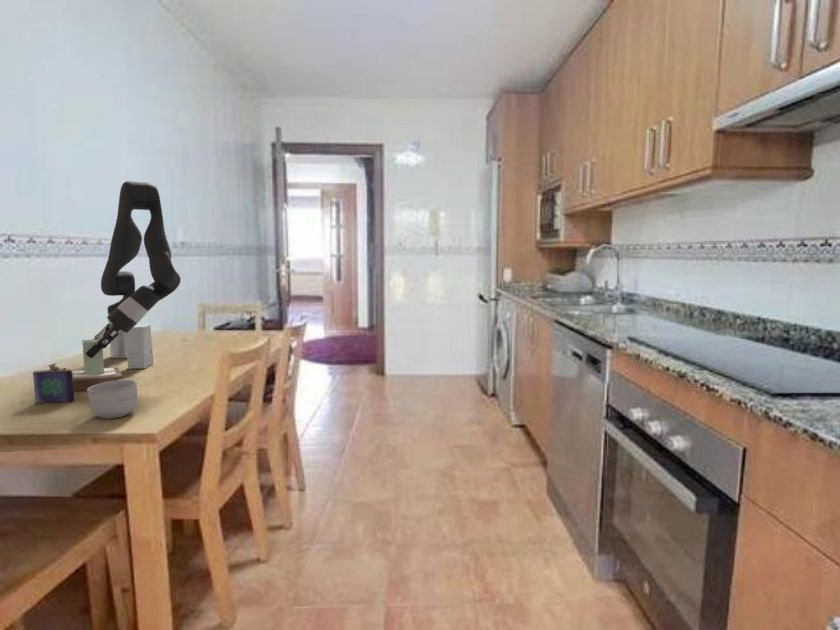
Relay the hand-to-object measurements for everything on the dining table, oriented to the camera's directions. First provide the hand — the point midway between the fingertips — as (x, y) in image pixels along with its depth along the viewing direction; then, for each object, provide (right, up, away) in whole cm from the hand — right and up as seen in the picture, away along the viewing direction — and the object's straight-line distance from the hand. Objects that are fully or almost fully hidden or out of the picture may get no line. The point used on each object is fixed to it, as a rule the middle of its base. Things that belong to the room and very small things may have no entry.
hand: (87, 353), depth 158 cm
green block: (+1, -6, +2) cm, 6 cm away
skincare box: (+2, -7, +27) cm, 28 cm away
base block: (+1, -9, +2) cm, 10 cm away
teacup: (+25, -13, -26) cm, 39 cm away
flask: (+3, -12, -18) cm, 21 cm away
